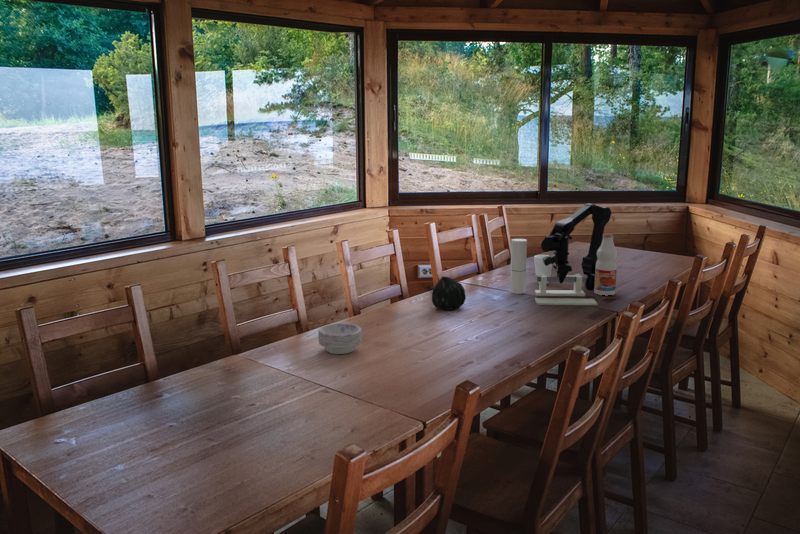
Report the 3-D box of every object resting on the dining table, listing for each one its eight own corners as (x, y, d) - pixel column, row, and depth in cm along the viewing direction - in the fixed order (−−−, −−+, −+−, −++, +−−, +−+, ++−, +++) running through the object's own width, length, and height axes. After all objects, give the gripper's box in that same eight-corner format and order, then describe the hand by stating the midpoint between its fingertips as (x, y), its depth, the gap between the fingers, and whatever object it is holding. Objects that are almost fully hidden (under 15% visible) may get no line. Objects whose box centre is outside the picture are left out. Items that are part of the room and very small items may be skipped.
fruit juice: (607, 290, 300) (610, 232, 293) (619, 295, 291) (623, 235, 285) (589, 292, 297) (593, 233, 291) (601, 297, 288) (605, 236, 282)
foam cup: (547, 285, 310) (548, 259, 307) (530, 282, 316) (531, 257, 313) (555, 281, 318) (556, 256, 315) (538, 278, 323) (539, 254, 320)
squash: (474, 292, 276) (451, 267, 276) (468, 303, 262) (445, 276, 262) (450, 311, 281) (428, 286, 281) (443, 322, 267) (420, 296, 267)
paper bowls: (362, 342, 230) (362, 321, 229) (361, 357, 215) (361, 335, 214) (320, 343, 230) (320, 322, 228) (316, 358, 215) (316, 336, 213)
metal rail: (583, 280, 293) (583, 275, 292) (585, 282, 290) (585, 276, 289) (535, 280, 294) (536, 274, 293) (536, 281, 291) (537, 276, 290)
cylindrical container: (524, 290, 301) (526, 238, 296) (525, 293, 294) (527, 241, 289) (509, 289, 302) (510, 238, 297) (510, 293, 295) (512, 241, 290)
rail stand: (582, 292, 295) (583, 274, 293) (585, 296, 290) (586, 277, 288) (534, 292, 297) (535, 273, 295) (536, 295, 291) (537, 276, 289)
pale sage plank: (593, 300, 283) (593, 298, 282) (597, 305, 275) (597, 303, 275) (534, 299, 284) (534, 298, 284) (537, 304, 276) (537, 303, 276)
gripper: (540, 245, 298) (539, 277, 301) (547, 253, 280) (546, 287, 283) (564, 245, 297) (563, 277, 301) (572, 253, 279) (571, 287, 283)
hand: (560, 282), depth 292 cm, fingers closed on metal rail, 3 cm apart
